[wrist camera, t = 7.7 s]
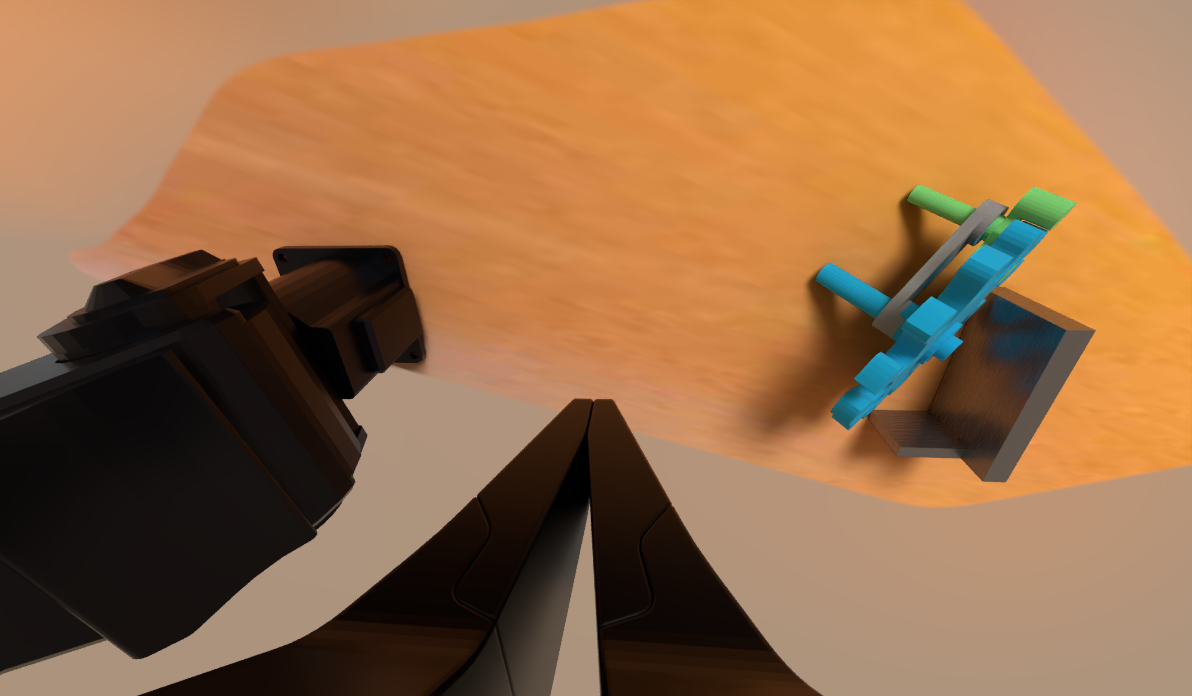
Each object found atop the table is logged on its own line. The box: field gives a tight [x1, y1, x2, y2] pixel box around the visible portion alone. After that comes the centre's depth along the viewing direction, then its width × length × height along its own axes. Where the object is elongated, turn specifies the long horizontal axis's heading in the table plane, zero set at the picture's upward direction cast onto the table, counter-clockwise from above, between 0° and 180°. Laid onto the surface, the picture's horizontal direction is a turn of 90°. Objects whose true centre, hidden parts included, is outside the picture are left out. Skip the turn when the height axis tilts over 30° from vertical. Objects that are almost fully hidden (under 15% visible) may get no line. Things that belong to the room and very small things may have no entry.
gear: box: [816, 185, 1077, 430], centre depth 18 cm, size 11×6×10 cm
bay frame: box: [868, 287, 1096, 482], centre depth 20 cm, size 4×8×4 cm, turn 2°
